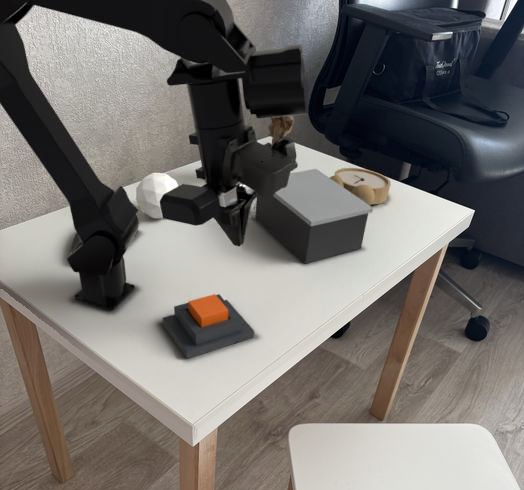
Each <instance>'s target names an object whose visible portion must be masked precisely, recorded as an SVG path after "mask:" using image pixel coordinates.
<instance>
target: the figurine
mask: <svg viewBox="0 0 524 490" xmlns="http://www.w3.org/2000/svg"><path fill="white" fill-rule="evenodd" d="M270 120H271V123H270V124H269V125H268V126H267V129H268V131H269V133H268V137H271V142H270V143H271V145H273V144H274V143H275V142H276V141H277V140H279V139H281V138H282V137H284V136H285V137H287V135H288V134H290V133H291V132H292V129H293V126H294V124H295V118H294V116H282V117H271V118H270Z"/></svg>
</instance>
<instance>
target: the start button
mask: <svg viewBox="0 0 524 490" xmlns="http://www.w3.org/2000/svg"><path fill="white" fill-rule="evenodd" d="M216 295H217V294H215V293H213V294H210V295H206V296H203V297H199V298H195V299H192V300H188V301H187V303H188V312H189V313H190V314H191V315H192V317H193V318H194V319H195V321H196V322H197V323H198V324H199V326H200V327H201V328H202V327H205V326H209V325H212V324H215V323H219V322H222V321H225V320H228V309H227V308H226V306H225V305H224V304H223V303H222V302H221V301H220V300H219V298H218V297H217V296H216Z"/></svg>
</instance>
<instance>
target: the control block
mask: <svg viewBox="0 0 524 490" xmlns="http://www.w3.org/2000/svg"><path fill="white" fill-rule="evenodd" d="M215 295H216V296H217V297H218V298H219V300H220V301H221V302H222V303H223V304H224V305H225V306H226V308H227V309H228V320H225V321H222V322H219V323H215V324H212V325H209V326H205V327H202V328H201V327H200V326H199V324H198V323H197V322H196V321H195V319H194V318H193V317H192V315H191V314H190V313H189V312H188V302H185V303H182V304H178V305H174V306H173V312H174V313H173V314H170V315H168V316H167V315H166V316H163V317H162V318H161V319H162V325H163V327H164V328H165V330H166V331H167V333H168V334H169V335H170V337H171V338H172V339H173V341H174V342H175V344H176V345H177V346H178V348H179V350H180V351H181V352H182V354H183V355H184V356H185V358H186V359H187V360H188V359H191V358H194V357H197V356H200V355H204V354H207V353H210V352H213V351H216V350H219V349H222V348H225V347H228V346H232V345H236V344H238V343H241V342H244V341H247V340H250V339H253V338H254V337H255V330H254V329H253V328H252V327H251V326H250V324H249V323H248V321H246V320H245V319H244V318H243V316H242V315H241V314H240V313H239V312H238V311H237V310H236V308H235V307H234V306H233V305H232V304H231V302H230V301H229V300H228V299H224V298H223V297H222V296H221V294H220V293H219V294H215Z"/></svg>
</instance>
